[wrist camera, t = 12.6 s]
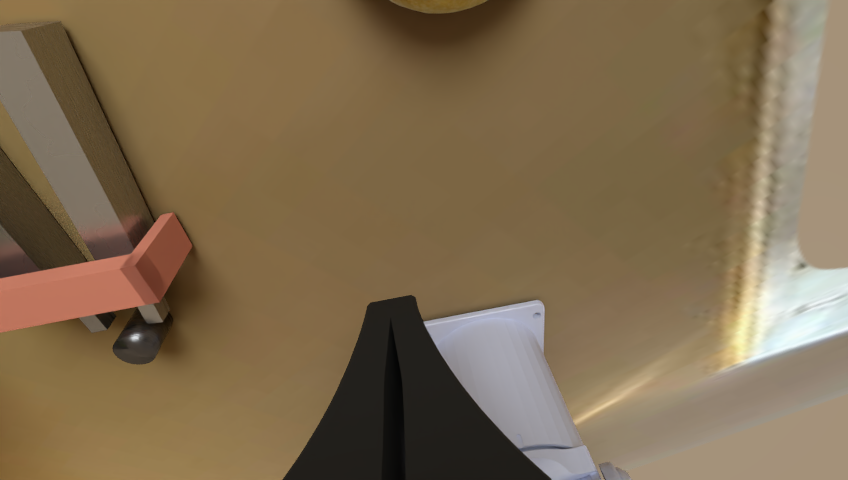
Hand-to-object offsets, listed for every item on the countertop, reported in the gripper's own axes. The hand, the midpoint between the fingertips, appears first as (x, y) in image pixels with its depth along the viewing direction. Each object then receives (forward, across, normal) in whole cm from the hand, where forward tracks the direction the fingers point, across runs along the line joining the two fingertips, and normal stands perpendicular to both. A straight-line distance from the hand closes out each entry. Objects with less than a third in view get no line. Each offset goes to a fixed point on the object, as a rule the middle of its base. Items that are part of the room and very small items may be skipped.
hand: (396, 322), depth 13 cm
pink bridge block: (+10, +14, +1) cm, 18 cm away
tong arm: (+10, +12, -2) cm, 16 cm away
